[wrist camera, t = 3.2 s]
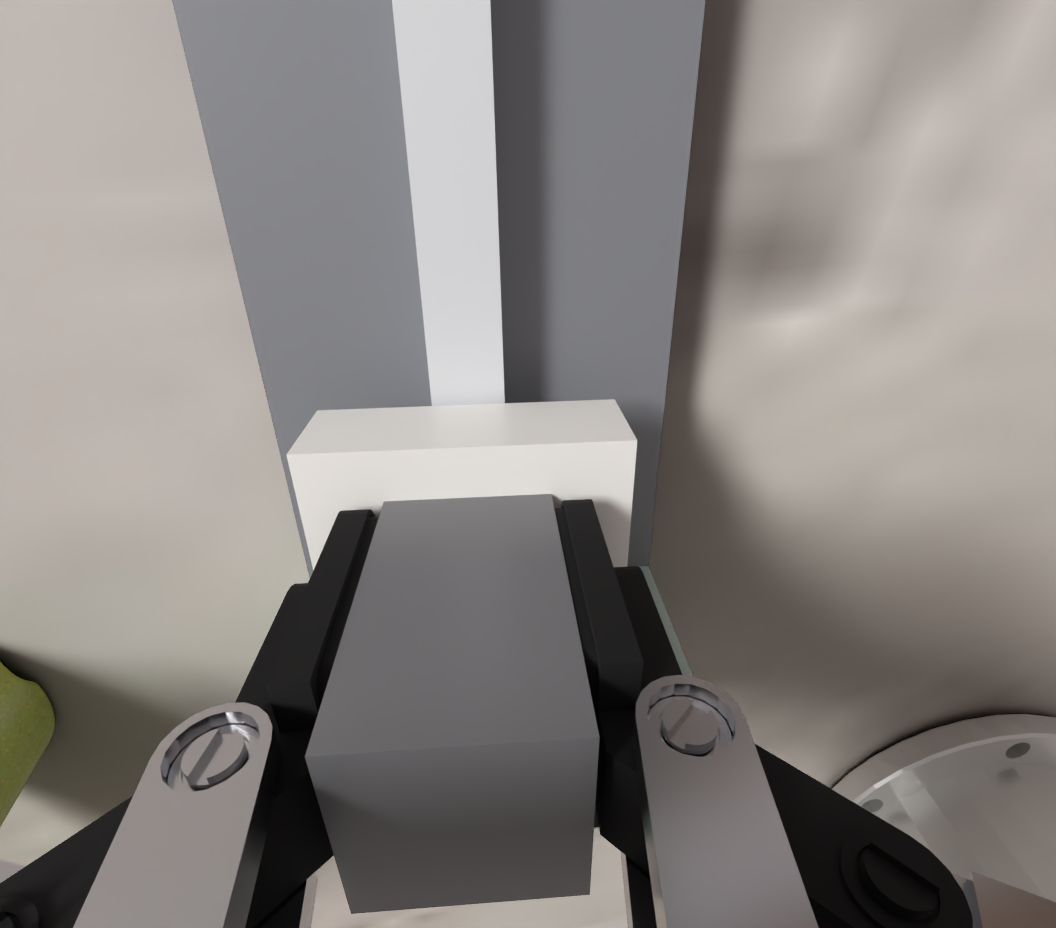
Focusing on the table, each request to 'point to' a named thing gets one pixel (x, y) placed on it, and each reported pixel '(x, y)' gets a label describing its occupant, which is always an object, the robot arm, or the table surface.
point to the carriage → (461, 647)
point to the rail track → (454, 203)
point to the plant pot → (21, 734)
